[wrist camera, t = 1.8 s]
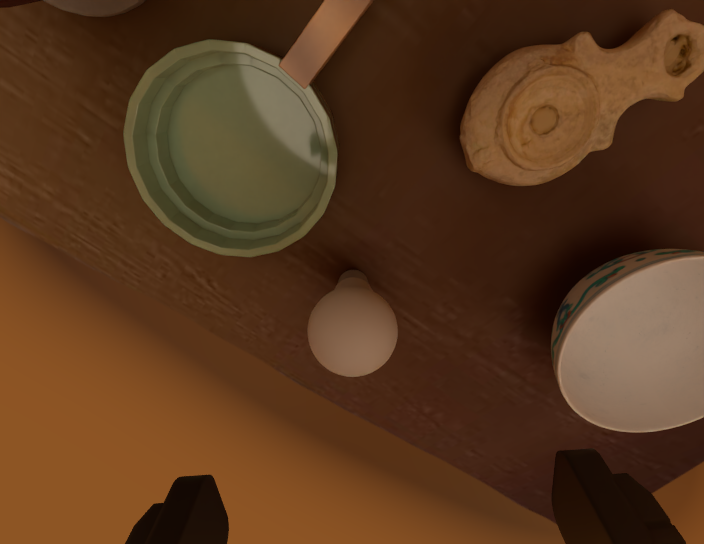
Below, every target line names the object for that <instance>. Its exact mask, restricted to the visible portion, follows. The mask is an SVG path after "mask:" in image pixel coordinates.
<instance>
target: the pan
mask: <svg viewBox="0 0 704 544" xmlns="http://www.w3.org/2000/svg"><path fill="white" fill-rule="evenodd" d="M283 58H284V57H282V56H280V55H278V54H276V53H273V52H271V51H269V50H267V49H265V48H263V47H260V46H257V45H253V44H249V43H245V42H235V41H225V40H215V39H207V40H203V41H199V42H196V43H192V44H188V45H185V46H181V47H178V48H175V49H173V50H171V51H170V52H169V53H168V54H166V55H165V56H164V57H162V58H161V59H160V60H158V61H157V62H156V63H155V64H153V65H152V66H151V67H149V68H148V69H147V70H146V71H145V73H144V75H143V77H142V78H141V80H140V82H139V83H138V85H137V87H136V88H135V90H134V92H133V94H132V95H131V97H130V100H129V103H128V109H127V114H126V120H125V125H124V131H123V133H124V134H123V136H124V143H125V150H126V157H127V164H128V167H129V168H128V169H129V171H130V173H131V175H132V177H133V180H134V182H135V184H136V186H137V188H138V191H139V193H140V195H141V197H142V198H143V200H144V202H145V203H146V204H147V205H148V206H149V208H150V209H151V210H152V211H153V212H154V214H155V215H156V216H157V217H158V218H159V220H160V221H161V222H162V223H163V224H165V226H166V227H168V228H169V229H171V230H172V231H173V232H175V233H176V234H178V235H179V236H180V237H182V238H183V239H185V240H186V241H187V242H189V243H191V244H192V245H195V246H198V247H200V248H203V249H206V250H208V251H211V252H214V253H217V254H219V255H220V254H221V255H229V256H241V257H254V256H259V255H264V254H268V253H273V252H277V251H280V250H282V249H284V248H285V247H287V246H289V245H290V244H292V243H294V242H296V241H297V240H299V239H301V238H302V237H304V236H305V235H306V234H307V233H308V232H309V230H310V229H311V228H312V227H313V226H314V225H315V224H316V222H317V221H318V220H319V219H320V218H321V217H322V216H323V214H324V212H325V210H326V207H327V205H328V202H329V200H330V197H331V195H332V193H333V190H334V188H335V184H336V179H337V173H338V161H339V147H340V143H339V138H338V134H337V130H336V125H335V121H334V117H333V113H332V111H331V109H330V107H329V106H328V104H327V102H326V101H325V99H324V97H323V95H322V94H321V92H320V90H319V89H318V87H317V85H316V84H315V83H314V82H312V83H311V84H309V85H308V86H307V88H306V89H303V88H302V87H301V86H300V85H299V84H298V83H297V82H296V81H295V80H294V79H292V78H291V77H290V76H289V75H288V74H287V73H286V72H285V71H284V70H283V69H281V68H280V67H279V63H280V62H281V61H282V59H283Z"/></svg>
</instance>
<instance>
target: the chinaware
mask: <svg viewBox="0 0 704 544" xmlns="http://www.w3.org/2000/svg"><path fill="white" fill-rule="evenodd" d="M551 356H552V363H553V368H554V372H555V376H556V379H557V382H558V385H559V388H560V390H561V393H562V395H563V396H564V398H565V400H566V401H567V403H568V404H569V405H570V407H571V408H572V409H573V410H574V411H575V412H576V413H577V414H579V415H580V416H581V417H583V418H584V419H586V420H587V421H589V422H591V423H593V424H595V425H598V426H600V427H603V428H607V429H611V430H616V431H622V432H652V431H660V430H665V429H670V428H674V427H678V426H681V425H685V424H688V423H690V422H693V421H696V420H698V419H700V418H703V417H704V252H702V251H695V250H685V249H656V250H647V251H641V252H636V253H632V254H628V255H625V256H622V257H619V258H616V259H614V260H611V261H609V262H607V263H605V264H603V265H601V266H599V267H598V268H596V269H594V270H593V271H591V272H590V273H589V274H587V275H586V276H585V277H583V278H582V279H581V280H580V281H579V282H578V283H577V284H576V285H575V286H574V287H573V288H572V289H571V291H570V292H569V293H568V294H567V296H566V297H565V299H564V300H563V302H562V304H561V306H560V308H559V310H558V312H557V315H556V317H555V320H554V324H553V328H552V335H551Z"/></svg>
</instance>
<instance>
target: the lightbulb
mask: <svg viewBox="0 0 704 544" xmlns="http://www.w3.org/2000/svg"><path fill="white" fill-rule="evenodd" d="M307 331H308V340H309V344H310V347H311V350H312V352H313V354H314V355H315V357H316V359H317V360H318V361H319V362H320V363H321V364H322V365H323V366H324V367H326V368H327V369H328V370H330V371H332V372H334V373H336V374H339V375H342V376H348V377H358V376H363V375H367V374H369V373H372V372H374V371H375V370H377V369H378V368H380V367H381V366H382V365H383V364H385V363H386V361H387V360H388V359H389V358H390V356H391V354H392V352H393V350H394V348H395V345H396V341H397V336H398V327H397V321H396V317H395V315H394V312H393V310H392V309H391V307H390V305H389V304H388V303H387V302H386V300H385V299H384V298H383V297H381V296H380V295H379V294H377V293H376V292H374V291H372V289H371V287H370V285H369V283H368V279H367V277H366V276H365V274H364V273H362V272H361V271H358V270H348V271H346V272H344V273H343V274H342V275H341V276H340V278H339V281H338V284H337V286H336V287H335V289H334V291H331V292H330V293H328V294H327V295H325V296H324V297H323V298H322V299H321V300H320V301H319V302H318V303H317V305H316V306H315V308H314V309H313V311H312V313H311V315H310V318H309V323H308V330H307Z"/></svg>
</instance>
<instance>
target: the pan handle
mask: <svg viewBox="0 0 704 544" xmlns="http://www.w3.org/2000/svg"><path fill="white" fill-rule="evenodd" d="M373 1H374V0H324V1H323V3H322V4H321V6H320V7H319V8H318V10H317V11H316V13H315V14H314V15H313V17H312V18H311V20H310V21H309V23H308V24H307V25H306V27H305V28H304V30H303V31H302V32H301V34H300V35H299V37H298V38H297V39H296V41H295V42H294V44H293V45H292V47H291V48H290V49H289V51H288V52H287V54H286V55H285V56H284V58H283V59H282V61H281V62H280V63H279V67H280V68H281V69H283V70H284V71H285V72H286V73H287V74H288V75H289V76H290V77H291V78H292V79H294V80H295V81H296V82H297V83H298V84H299V85H300V86H301V87H302V88H303V89H306V88H307V86H308V85H309V84H311V83H312V82H313V81H314V79H315V78H316V77H317V75H318V74H319V73H320V71H321V70H322V69H323V67H324V66H325V65H326V63H327V62H328V61H329V59H330V58H331V57H332V55H333V54H334V53H335V51H336V50H337V49H338V47H339V46H340V45H341V43H342V42H343V41H344V39H345V38H346V37H347V35H348V34H349V33H350V31H351V30H352V29H353V27H354V26H355V25H356V24H357V22H358V21H359V20H360V18H361V17H362V16H363V14H364V13H365V12H366V10H367V9H368V8H369V6H370V5H371V4H372V2H373Z"/></svg>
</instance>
